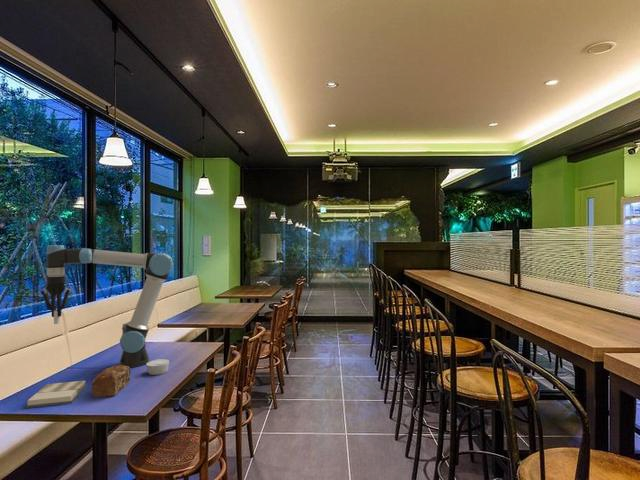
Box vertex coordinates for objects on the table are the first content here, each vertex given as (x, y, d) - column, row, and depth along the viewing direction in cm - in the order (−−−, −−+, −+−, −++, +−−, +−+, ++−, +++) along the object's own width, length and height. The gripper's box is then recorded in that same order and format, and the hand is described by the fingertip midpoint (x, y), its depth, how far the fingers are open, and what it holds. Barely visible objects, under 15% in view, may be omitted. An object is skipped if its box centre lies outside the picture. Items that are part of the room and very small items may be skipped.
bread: (115, 397, 176) (115, 374, 176) (90, 398, 175) (90, 375, 175) (131, 382, 194) (131, 361, 194) (108, 383, 193) (108, 362, 193)
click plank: (85, 384, 188) (85, 380, 188) (77, 393, 178) (77, 388, 178) (47, 388, 184) (46, 384, 184) (36, 397, 174) (36, 393, 174)
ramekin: (146, 377, 201) (146, 366, 201) (146, 370, 211) (146, 360, 211) (169, 373, 205) (169, 363, 205) (168, 367, 215) (168, 357, 215)
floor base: (86, 386, 189) (86, 380, 189) (72, 403, 170) (72, 395, 170) (46, 390, 185) (46, 383, 185) (26, 408, 165) (26, 400, 165)
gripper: (37, 277, 193) (38, 325, 193) (67, 276, 196) (68, 324, 196) (44, 275, 200) (44, 322, 200) (73, 274, 203) (74, 321, 203)
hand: (56, 323), depth 198 cm, fingers closed
